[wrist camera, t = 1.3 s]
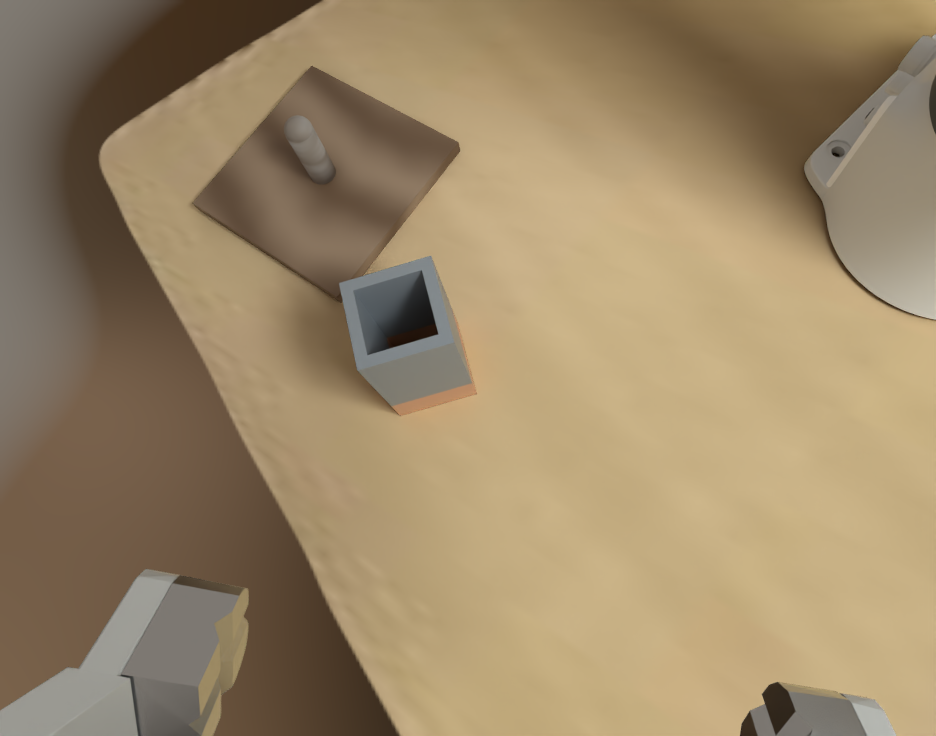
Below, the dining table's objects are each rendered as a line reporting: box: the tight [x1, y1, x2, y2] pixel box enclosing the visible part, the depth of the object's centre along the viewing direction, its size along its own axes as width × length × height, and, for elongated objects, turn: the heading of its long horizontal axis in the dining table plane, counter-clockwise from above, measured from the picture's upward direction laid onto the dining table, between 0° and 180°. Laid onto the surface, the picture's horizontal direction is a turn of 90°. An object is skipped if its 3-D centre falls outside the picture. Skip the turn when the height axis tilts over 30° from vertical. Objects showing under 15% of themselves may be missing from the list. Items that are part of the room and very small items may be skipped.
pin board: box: [193, 66, 460, 302], centre depth 48 cm, size 15×15×7 cm
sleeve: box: [339, 256, 477, 416], centre depth 40 cm, size 5×5×10 cm
